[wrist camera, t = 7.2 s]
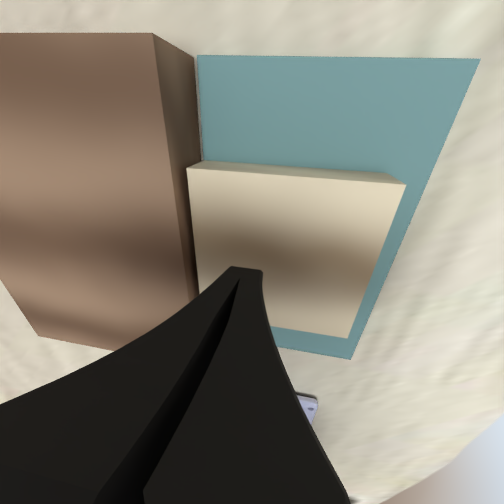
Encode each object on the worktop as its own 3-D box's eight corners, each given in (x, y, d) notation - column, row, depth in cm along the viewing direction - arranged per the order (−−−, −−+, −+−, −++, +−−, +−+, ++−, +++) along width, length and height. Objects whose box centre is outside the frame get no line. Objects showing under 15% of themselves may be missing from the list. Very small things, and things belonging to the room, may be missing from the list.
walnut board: (212, 330, 17) (198, 367, 15) (73, 306, 19) (38, 335, 16) (193, 57, 9) (152, 33, 6) (-53, 53, 10) (-165, 32, 8)
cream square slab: (341, 311, 14) (347, 338, 12) (213, 292, 15) (202, 314, 13) (386, 173, 9) (406, 184, 8) (204, 160, 10) (186, 168, 9)
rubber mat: (349, 354, 16) (350, 359, 16) (216, 331, 17) (214, 335, 17) (472, 61, 8) (480, 58, 7) (200, 57, 9) (197, 55, 9)
